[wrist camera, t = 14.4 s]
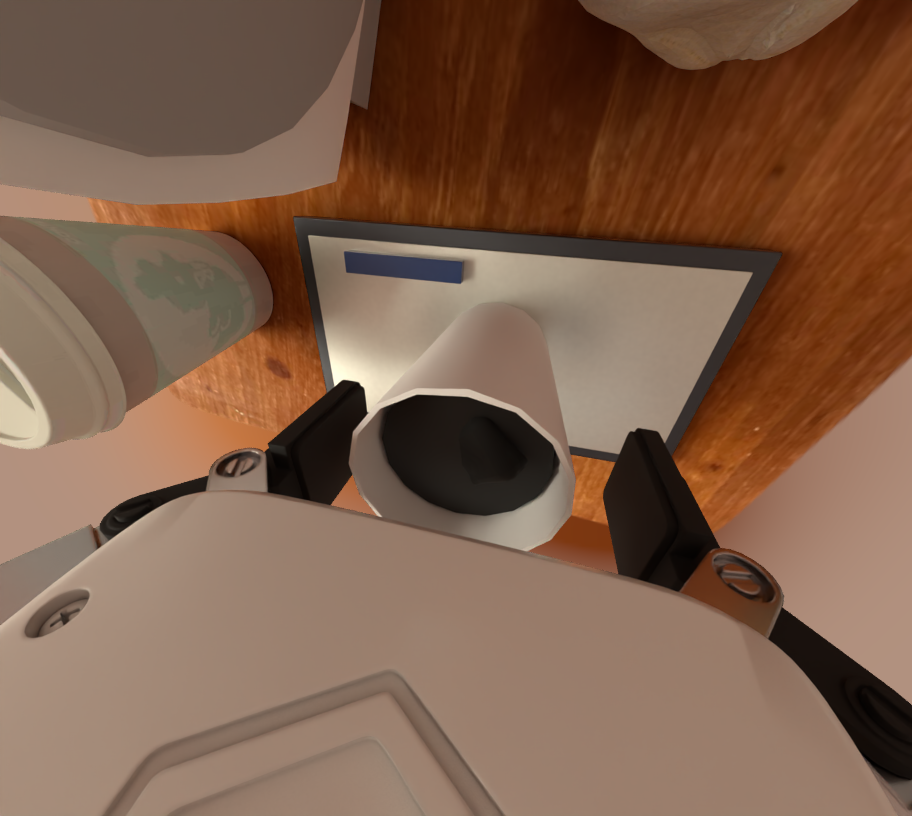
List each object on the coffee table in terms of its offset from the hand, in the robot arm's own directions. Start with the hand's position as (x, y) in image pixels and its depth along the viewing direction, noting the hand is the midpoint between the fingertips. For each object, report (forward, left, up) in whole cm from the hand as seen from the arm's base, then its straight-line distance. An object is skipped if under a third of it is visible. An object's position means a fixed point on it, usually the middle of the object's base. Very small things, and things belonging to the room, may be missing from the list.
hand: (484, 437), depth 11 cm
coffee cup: (+17, -2, -9) cm, 20 cm away
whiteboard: (0, 0, -9) cm, 9 cm away
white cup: (+1, 0, -8) cm, 8 cm away
